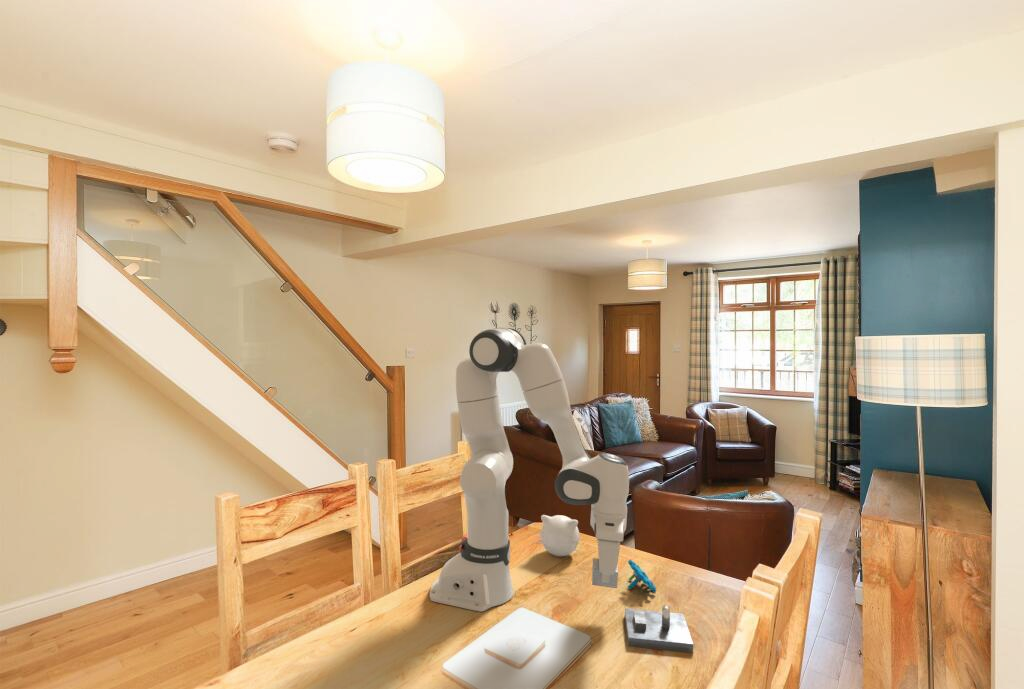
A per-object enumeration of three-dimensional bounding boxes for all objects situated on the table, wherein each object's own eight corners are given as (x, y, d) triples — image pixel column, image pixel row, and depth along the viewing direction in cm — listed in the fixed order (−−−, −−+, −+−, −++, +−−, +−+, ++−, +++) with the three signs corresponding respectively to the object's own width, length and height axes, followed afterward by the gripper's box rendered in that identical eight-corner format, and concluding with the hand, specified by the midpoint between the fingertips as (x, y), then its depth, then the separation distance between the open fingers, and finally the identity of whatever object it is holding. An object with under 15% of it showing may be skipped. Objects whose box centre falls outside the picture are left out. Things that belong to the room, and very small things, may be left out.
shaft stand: (628, 646, 113) (628, 617, 113) (624, 616, 125) (625, 590, 125) (693, 652, 111) (693, 624, 111) (683, 621, 123) (683, 595, 123)
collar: (592, 585, 123) (593, 569, 123) (592, 573, 129) (593, 558, 129) (616, 588, 123) (618, 572, 122) (615, 576, 129) (616, 561, 128)
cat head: (587, 549, 163) (588, 512, 163) (578, 567, 151) (578, 527, 150) (543, 542, 168) (544, 506, 168) (530, 558, 156) (531, 519, 156)
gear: (661, 593, 133) (634, 564, 134) (645, 609, 133) (618, 580, 134) (653, 579, 144) (628, 552, 145) (639, 593, 144) (614, 566, 145)
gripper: (595, 504, 136) (591, 554, 137) (596, 534, 116) (592, 593, 116) (618, 506, 135) (615, 556, 136) (624, 538, 115) (620, 597, 116)
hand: (604, 574), depth 126 cm, fingers closed on collar, 6 cm apart
